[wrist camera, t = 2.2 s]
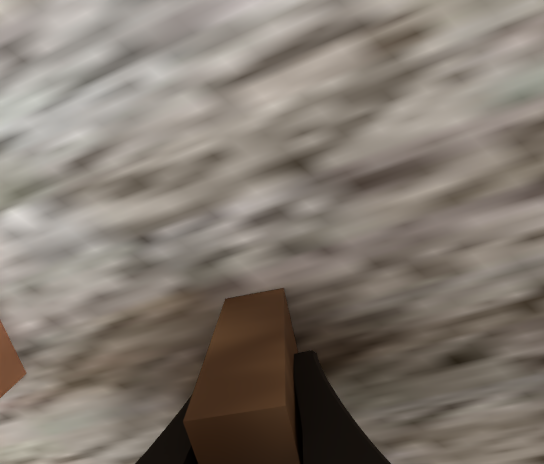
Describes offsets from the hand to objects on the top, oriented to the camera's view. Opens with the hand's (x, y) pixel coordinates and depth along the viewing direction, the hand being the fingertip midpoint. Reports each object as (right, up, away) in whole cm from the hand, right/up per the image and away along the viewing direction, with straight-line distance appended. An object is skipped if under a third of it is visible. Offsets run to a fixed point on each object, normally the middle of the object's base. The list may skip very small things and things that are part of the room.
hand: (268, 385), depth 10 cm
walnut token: (0, 0, +1) cm, 1 cm away
